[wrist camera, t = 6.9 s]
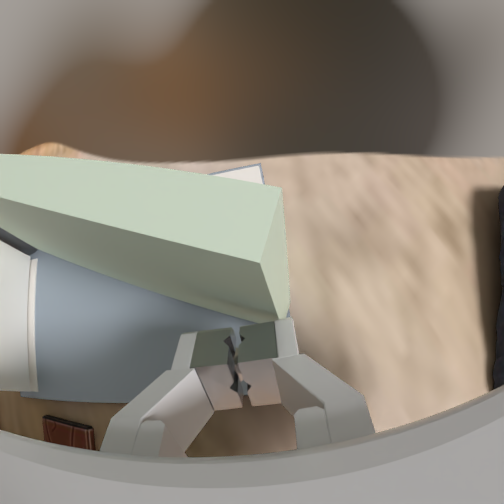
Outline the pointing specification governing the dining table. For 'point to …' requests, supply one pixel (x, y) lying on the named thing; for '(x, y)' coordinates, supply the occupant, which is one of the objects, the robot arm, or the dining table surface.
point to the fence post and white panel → (14, 312)
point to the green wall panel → (155, 229)
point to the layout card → (107, 328)
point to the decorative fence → (68, 433)
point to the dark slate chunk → (500, 308)
